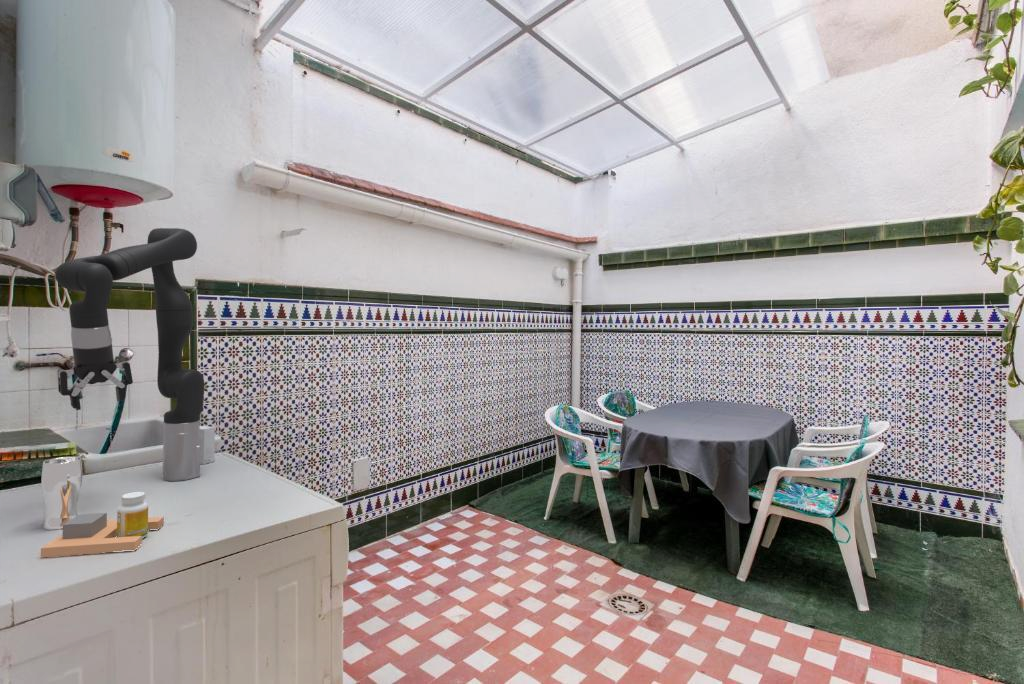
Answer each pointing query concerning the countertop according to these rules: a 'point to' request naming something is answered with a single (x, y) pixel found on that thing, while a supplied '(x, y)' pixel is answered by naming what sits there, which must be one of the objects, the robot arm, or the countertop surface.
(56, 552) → the orange forked bracket
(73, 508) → the beer glass
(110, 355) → the robot arm
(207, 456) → the skincare box
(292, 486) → the countertop surface
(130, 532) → the supplement bottle
